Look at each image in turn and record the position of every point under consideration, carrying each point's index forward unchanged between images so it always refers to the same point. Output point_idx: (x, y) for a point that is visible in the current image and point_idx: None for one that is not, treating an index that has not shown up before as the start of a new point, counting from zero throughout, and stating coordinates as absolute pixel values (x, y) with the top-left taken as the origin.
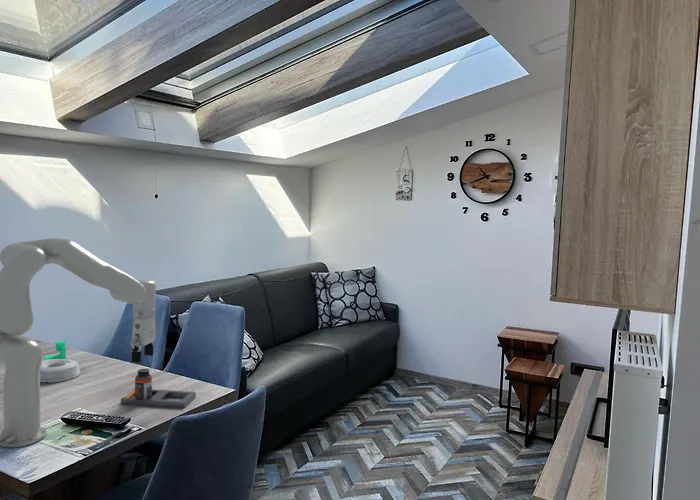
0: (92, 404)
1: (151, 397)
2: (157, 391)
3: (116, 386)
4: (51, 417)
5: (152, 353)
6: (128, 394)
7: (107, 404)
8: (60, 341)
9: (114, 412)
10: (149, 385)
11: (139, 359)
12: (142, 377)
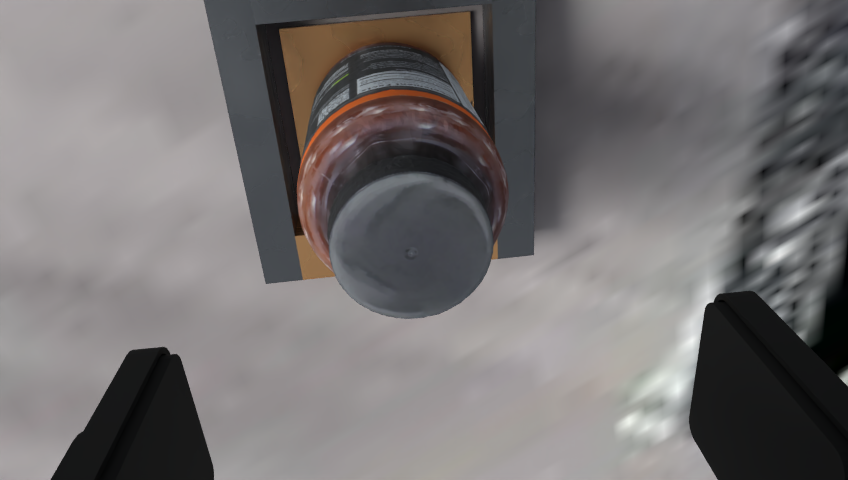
0: (559, 397)
1: (446, 2)
2: (257, 40)
3: None
4: None
5: (148, 369)
6: None
7: (544, 314)
8: None
9: (691, 180)
10: (420, 78)
11: (781, 333)
12: (489, 183)
